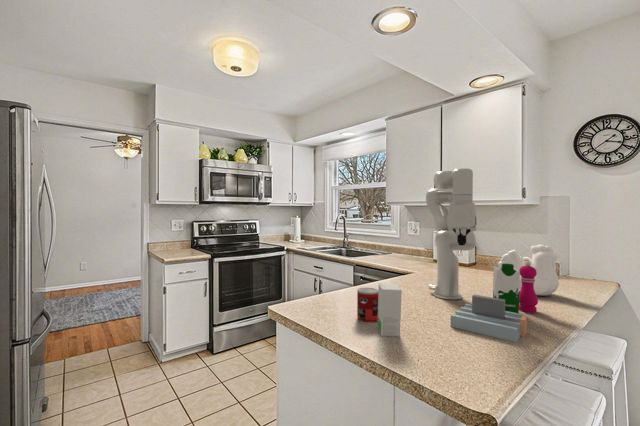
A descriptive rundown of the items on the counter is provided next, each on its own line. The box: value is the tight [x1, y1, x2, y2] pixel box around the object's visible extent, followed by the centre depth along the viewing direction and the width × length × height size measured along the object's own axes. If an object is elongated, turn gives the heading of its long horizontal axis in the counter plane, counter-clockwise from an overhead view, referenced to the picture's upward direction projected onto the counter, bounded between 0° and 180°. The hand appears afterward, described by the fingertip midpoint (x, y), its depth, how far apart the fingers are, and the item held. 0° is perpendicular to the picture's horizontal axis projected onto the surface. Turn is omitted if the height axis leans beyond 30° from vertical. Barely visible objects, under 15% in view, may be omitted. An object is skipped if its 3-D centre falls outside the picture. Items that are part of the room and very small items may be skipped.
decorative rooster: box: [497, 244, 560, 296], centre depth 156 cm, size 25×16×25 cm, turn 35°
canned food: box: [356, 287, 379, 323], centre depth 117 cm, size 8×8×11 cm
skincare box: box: [377, 282, 403, 338], centre depth 105 cm, size 8×7×16 cm
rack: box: [450, 303, 528, 343], centre depth 110 cm, size 21×18×6 cm
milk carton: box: [492, 264, 520, 314], centre depth 124 cm, size 9×9×20 cm
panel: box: [471, 294, 505, 320], centre depth 111 cm, size 10×2×9 cm, turn 49°
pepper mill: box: [519, 261, 539, 314], centre depth 128 cm, size 7×7×20 cm
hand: (461, 245), depth 126 cm, fingers closed
